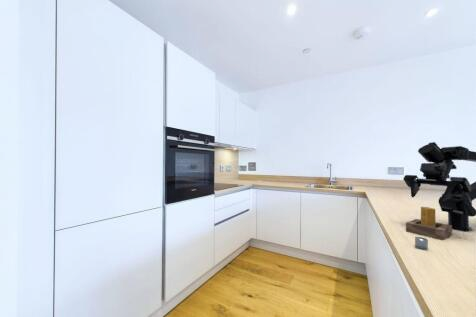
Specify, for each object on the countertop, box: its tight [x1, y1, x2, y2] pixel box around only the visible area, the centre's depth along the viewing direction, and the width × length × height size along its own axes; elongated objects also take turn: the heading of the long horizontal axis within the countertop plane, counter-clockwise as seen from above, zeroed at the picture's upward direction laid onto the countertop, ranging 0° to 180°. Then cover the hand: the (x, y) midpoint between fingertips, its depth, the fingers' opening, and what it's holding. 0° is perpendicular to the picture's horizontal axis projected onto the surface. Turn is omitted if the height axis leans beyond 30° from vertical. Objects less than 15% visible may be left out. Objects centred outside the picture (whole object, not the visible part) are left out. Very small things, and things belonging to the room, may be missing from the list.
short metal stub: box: [414, 236, 429, 251], centre depth 62 cm, size 3×3×3 cm
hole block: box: [405, 218, 453, 241], centre depth 76 cm, size 10×10×4 cm
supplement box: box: [420, 206, 437, 228], centre depth 75 cm, size 3×3×10 cm
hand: (426, 198), depth 75 cm, fingers open, 9 cm apart
